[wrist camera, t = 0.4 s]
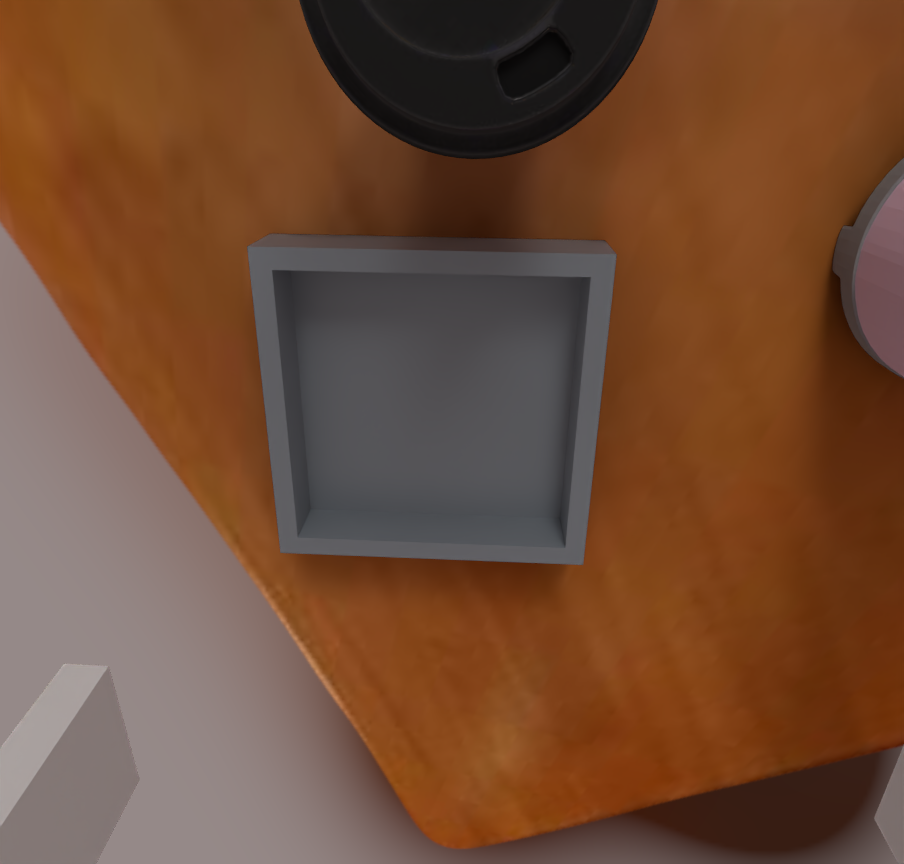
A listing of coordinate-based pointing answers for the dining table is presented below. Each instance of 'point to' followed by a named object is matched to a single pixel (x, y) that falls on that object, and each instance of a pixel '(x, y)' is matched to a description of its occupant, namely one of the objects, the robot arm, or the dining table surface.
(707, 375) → the dining table surface
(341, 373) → the tray
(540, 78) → the coffee cup
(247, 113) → the dining table surface
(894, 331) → the blender
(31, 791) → the robot arm
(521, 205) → the dining table surface
